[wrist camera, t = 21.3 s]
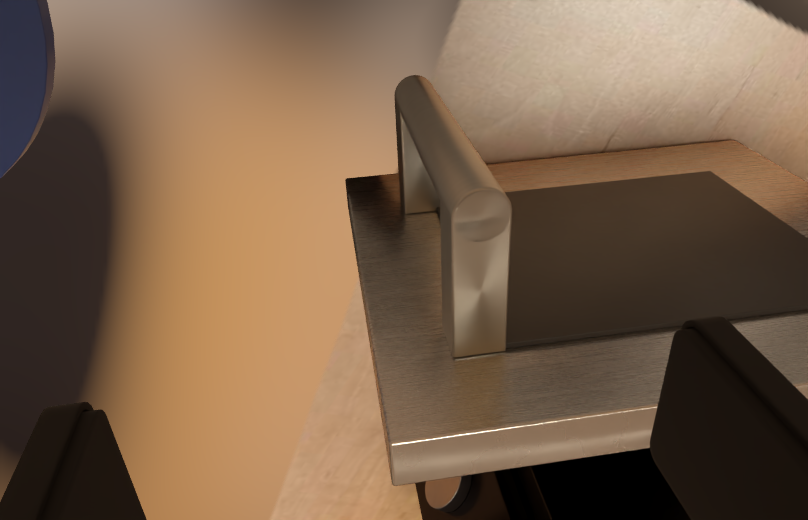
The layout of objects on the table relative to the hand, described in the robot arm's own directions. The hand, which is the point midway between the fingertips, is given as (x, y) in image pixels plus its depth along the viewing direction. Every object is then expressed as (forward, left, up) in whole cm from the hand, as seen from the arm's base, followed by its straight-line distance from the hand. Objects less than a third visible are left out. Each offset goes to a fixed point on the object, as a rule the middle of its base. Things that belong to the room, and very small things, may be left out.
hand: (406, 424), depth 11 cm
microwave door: (+9, +5, -20) cm, 23 cm away
